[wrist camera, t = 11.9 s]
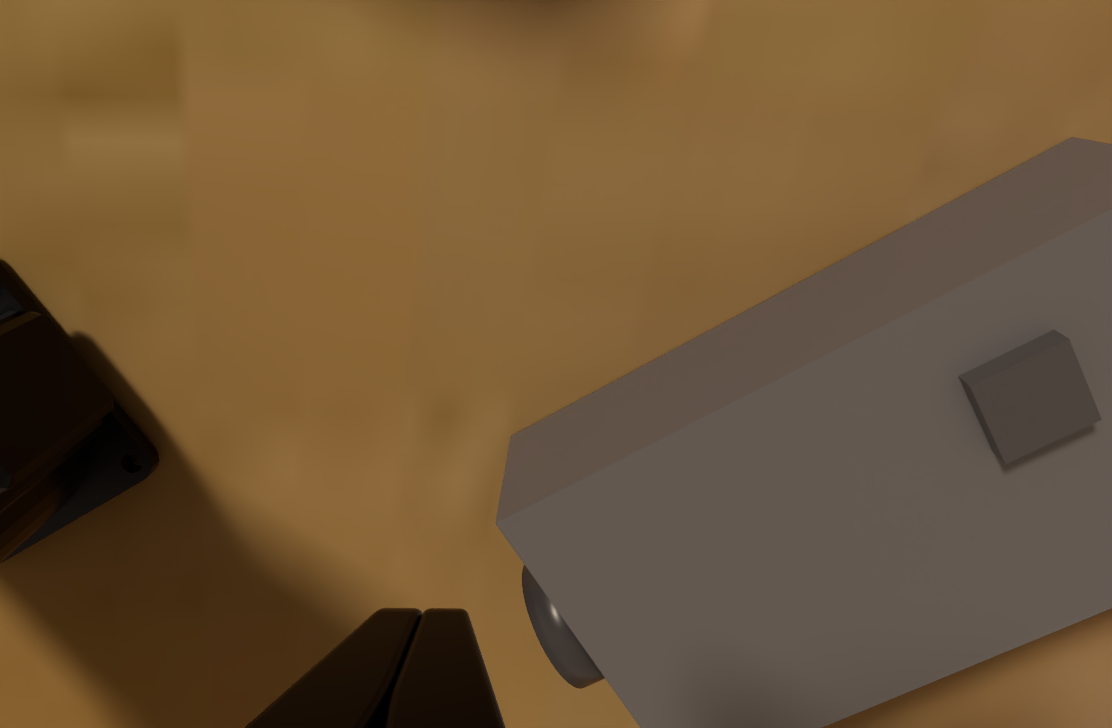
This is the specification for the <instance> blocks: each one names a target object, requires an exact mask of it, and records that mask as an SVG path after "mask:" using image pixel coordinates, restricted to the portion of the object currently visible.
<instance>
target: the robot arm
mask: <svg viewBox="0 0 1112 728" xmlns="http://www.w3.org/2000/svg"><path fill="white" fill-rule="evenodd" d="M129 454H131V455H135V456H136V457H137V458H139V460H140V461H141V463H142V465H137V464H135V463H134V462H132V461H131V459H130V457H129ZM158 463H159V455H158V452H157V451H156V449H155V447H154V446H153V445H152V444H151V442H150V441H149V440H148V439H147V438H146V436H145V435H144V434H143V433H142V432H141V430H140V429H139V428H138V427H137V426H136V424H135V423H134V422H133V421H132V420H131V419H130V417H129V416H128V415H127V414H126V413H125V411H124V410H123V409H122V408H121V407H120V405H119V404H118V403H117V402H116V401H115V399H114V398H113V396H112V395H111V393H110V392H109V391H108V390H107V389H106V388H105V386H104V385H103V384H102V383H101V382H100V380H99V379H98V378H97V377H96V376H95V374H94V373H93V372H92V371H91V370H90V368H89V367H88V366H87V365H86V364H85V362H84V361H83V360H82V359H81V358H80V357H79V355H78V354H77V353H76V352H75V351H74V349H73V348H72V347H71V346H70V345H69V343H68V342H67V341H66V340H65V339H64V337H63V336H62V335H61V334H60V333H59V332H58V330H57V329H56V328H55V327H54V326H53V324H52V323H51V322H50V321H49V320H48V318H47V317H46V316H44V315H43V314H42V313H41V311H40V310H39V309H38V308H37V307H36V305H35V304H34V303H33V302H32V301H31V299H30V298H29V297H28V296H27V295H26V293H25V292H24V291H23V290H22V289H21V288H20V286H19V285H18V284H17V283H16V282H15V280H14V279H13V278H12V277H11V276H10V274H9V273H8V272H7V271H6V270H5V268H4V267H3V266H2V265H1V264H0V563H2V562H4V561H5V560H7V559H9V558H10V557H12V556H14V555H16V554H17V553H19V552H21V551H22V550H24V549H26V548H28V547H29V546H31V545H33V544H34V543H36V542H38V541H40V540H41V539H43V538H45V537H46V536H48V535H50V534H52V533H53V532H55V531H57V530H58V529H60V528H62V527H64V526H65V525H67V524H69V523H70V522H72V521H74V520H76V519H77V518H79V517H81V516H82V515H84V514H86V513H88V512H89V511H91V510H93V509H94V508H96V507H98V506H100V505H101V504H103V503H105V502H107V501H108V500H110V499H112V498H113V497H115V496H117V495H119V494H120V493H122V492H124V491H125V490H127V489H129V488H131V487H132V486H134V485H136V484H137V483H139V482H141V481H143V480H144V479H145V478H147V477H148V476H149V475H150V474H151V473H152V472H153V471H154V470H155V469H156V468H157V466H158ZM245 728H505V725H504V722H503V719H502V716H501V713H500V710H499V707H498V704H497V701H496V698H495V695H494V692H493V688H492V685H491V682H490V679H489V676H488V673H487V670H486V667H485V664H484V661H483V658H482V655H481V652H480V649H479V646H478V643H477V640H476V637H475V633H474V630H473V627H472V624H471V621H470V618H469V615H468V613H467V612H466V611H465V610H464V609H452V608H431V609H427V610H426V611H424V613H423V614H422V612H421V611H420V610H419V609H416V608H383V609H380V610H378V611H376V612H375V613H374V614H372V615H371V616H370V617H369V618H368V619H367V620H366V621H365V622H363V623H362V624H361V625H360V626H359V627H358V628H357V629H355V630H354V631H353V632H352V633H351V634H350V635H349V636H348V637H346V638H345V639H344V640H343V641H342V642H341V643H340V644H339V645H337V646H336V647H335V648H334V649H333V650H332V651H331V652H330V653H328V654H327V655H326V656H325V657H324V658H323V659H322V660H320V661H319V662H318V663H317V664H316V665H315V666H314V667H313V668H311V669H310V670H309V671H308V672H307V673H306V674H305V675H304V676H302V677H301V678H300V679H299V680H298V681H297V682H296V683H294V684H293V685H292V686H291V687H290V688H289V689H288V690H287V691H285V692H284V693H283V694H282V695H281V696H280V697H279V698H278V699H276V700H275V701H274V702H273V703H272V704H271V705H270V706H269V707H267V708H266V709H265V710H264V711H263V712H262V713H261V714H259V715H258V716H257V717H256V718H255V719H254V720H253V721H252V722H250V723H249V724H248V725H247V726H246V727H245Z"/></svg>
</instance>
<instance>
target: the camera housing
mask: <svg viewBox="0 0 1112 728" xmlns="http://www.w3.org/2000/svg"><path fill="white" fill-rule="evenodd" d="M496 525H497V526H498V528H499V529H500V530H501V532H502V533H503V535H504V536H505V538H506V539H507V540H508V542H509V543H510V545H511V546H512V547H513V549H514V550H515V552H516V553H517V554H518V556H519V557H520V559H521V560H522V561H523V563H524V564H525V565H524V567H523V571H522V587H523V594H524V599H525V603H526V607H527V611H528V614H529V617H530V620H531V623H532V625H533V628H534V630H535V633H536V635H537V637H538V640H539V642H540V644H541V646H542V648H543V649H544V651H545V653H546V655H547V657H548V658H549V660H550V662H551V663H552V664H553V666H554V667H555V669H556V670H557V671H558V673H559V674H560V675H561V676H562V677H563V678H564V679H565V680H566V681H567V682H568V683H569V684H571V685H572V686H574V687H576V688H584V687H587V686H589V685H591V684H593V683H596V682H598V681H600V680H602V679H604V678H606V680H607V681H608V683H609V684H610V685H611V687H612V688H613V690H614V691H615V692H616V694H617V695H618V697H619V698H620V700H621V701H622V702H623V704H624V705H625V707H626V708H627V709H628V711H629V712H630V714H631V715H632V716H633V718H634V719H635V721H636V722H637V723H638V725H639V726H640V728H822V727H825V726H827V725H830V724H832V723H835V722H837V721H839V720H842V719H844V718H847V717H849V716H852V715H854V714H856V713H859V712H861V711H864V710H866V709H869V708H871V707H873V706H876V705H878V704H881V703H883V702H886V701H888V700H890V699H893V698H895V697H898V696H900V695H903V694H905V693H907V692H910V691H912V690H915V689H917V688H920V687H922V686H924V685H927V684H929V683H932V682H934V681H937V680H939V679H941V678H944V677H946V676H949V675H951V674H954V673H956V672H958V671H961V670H963V669H966V668H968V667H971V666H973V665H975V664H978V663H980V662H983V661H985V660H988V659H990V658H992V657H995V656H997V655H1000V654H1002V653H1005V652H1007V651H1009V650H1012V649H1014V648H1017V647H1019V646H1022V645H1024V644H1026V643H1029V642H1031V641H1034V640H1036V639H1039V638H1041V637H1043V636H1046V635H1048V634H1051V633H1053V632H1056V631H1058V630H1060V629H1063V628H1065V627H1068V626H1070V625H1073V624H1075V623H1077V622H1080V621H1082V620H1085V619H1087V618H1090V617H1092V616H1094V615H1097V614H1099V613H1102V612H1104V611H1107V610H1109V609H1111V608H1112V144H1107V143H1102V142H1096V141H1091V140H1086V139H1081V138H1075V137H1071V138H1069V139H1067V140H1066V141H1064V142H1062V143H1060V144H1058V145H1056V146H1054V147H1052V148H1051V149H1049V150H1047V151H1045V152H1043V153H1041V154H1039V155H1037V156H1036V157H1034V158H1032V159H1030V160H1028V161H1026V162H1024V163H1022V164H1021V165H1019V166H1017V167H1015V168H1013V169H1011V170H1009V171H1007V172H1006V173H1004V174H1002V175H1000V176H998V177H996V178H994V179H992V180H991V181H989V182H987V183H985V184H983V185H981V186H979V187H977V188H976V189H974V190H972V191H970V192H968V193H966V194H964V195H962V196H961V197H959V198H957V199H955V200H953V201H951V202H949V203H947V204H946V205H944V206H942V207H940V208H938V209H936V210H934V211H932V212H931V213H929V214H927V215H925V216H923V217H921V218H919V219H917V220H916V221H914V222H912V223H910V224H908V225H906V226H904V227H902V228H901V229H899V230H897V231H895V232H893V233H891V234H889V235H887V236H886V237H884V238H882V239H880V240H878V241H876V242H874V243H872V244H871V245H869V246H867V247H865V248H863V249H861V250H859V251H857V252H856V253H854V254H852V255H850V256H848V257H846V258H844V259H842V260H841V261H839V262H837V263H835V264H833V265H831V266H829V267H827V268H826V269H824V270H822V271H820V272H818V273H816V274H814V275H812V276H811V277H809V278H807V279H805V280H803V281H801V282H799V283H797V284H796V285H794V286H792V287H790V288H788V289H786V290H784V291H782V292H781V293H779V294H777V295H775V296H773V297H771V298H769V299H767V300H766V301H764V302H762V303H760V304H758V305H756V306H754V307H752V308H751V309H749V310H747V311H745V312H743V313H741V314H739V315H737V316H736V317H734V318H732V319H730V320H728V321H726V322H724V323H722V324H721V325H719V326H717V327H715V328H713V329H711V330H709V331H707V332H706V333H704V334H702V335H700V336H698V337H696V338H694V339H692V340H691V341H689V342H687V343H685V344H683V345H681V346H679V347H677V348H676V349H674V350H672V351H670V352H668V353H666V354H664V355H662V356H661V357H659V358H657V359H655V360H653V361H651V362H649V363H647V364H646V365H644V366H642V367H640V368H638V369H636V370H634V371H632V372H631V373H629V374H627V375H625V376H623V377H621V378H619V379H617V380H616V381H614V382H612V383H610V384H608V385H606V386H604V387H602V388H601V389H599V390H597V391H595V392H593V393H591V394H589V395H587V396H586V397H584V398H582V399H580V400H578V401H576V402H574V403H572V404H571V405H569V406H567V407H565V408H563V409H561V410H559V411H557V412H556V413H554V414H552V415H550V416H548V417H546V418H544V419H542V420H541V421H539V422H537V423H535V424H533V425H531V426H529V427H527V428H525V429H524V430H522V431H520V432H518V433H516V434H514V435H512V436H511V439H510V444H509V450H508V456H507V461H506V467H505V473H504V478H503V484H502V490H501V495H500V501H499V506H498V512H497V518H496Z"/></svg>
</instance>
